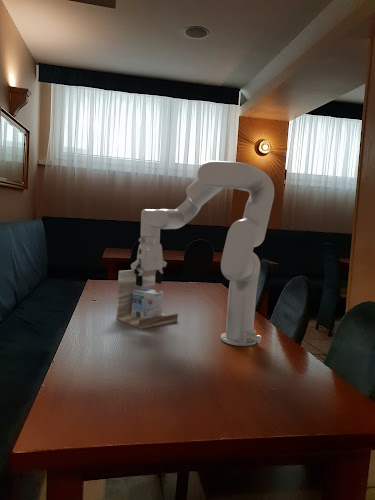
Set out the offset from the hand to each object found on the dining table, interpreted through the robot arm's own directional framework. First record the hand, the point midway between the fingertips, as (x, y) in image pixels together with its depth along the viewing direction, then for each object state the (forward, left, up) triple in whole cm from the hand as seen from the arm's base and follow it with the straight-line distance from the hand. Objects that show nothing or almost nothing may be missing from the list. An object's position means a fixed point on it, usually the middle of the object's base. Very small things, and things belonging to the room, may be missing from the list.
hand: (148, 284), depth 151 cm
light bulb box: (0, 0, -13) cm, 13 cm away
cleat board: (0, 0, -14) cm, 14 cm away
